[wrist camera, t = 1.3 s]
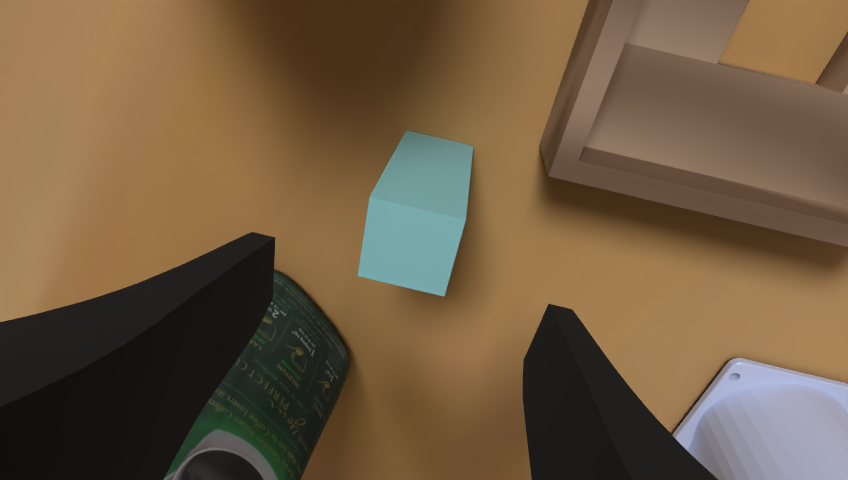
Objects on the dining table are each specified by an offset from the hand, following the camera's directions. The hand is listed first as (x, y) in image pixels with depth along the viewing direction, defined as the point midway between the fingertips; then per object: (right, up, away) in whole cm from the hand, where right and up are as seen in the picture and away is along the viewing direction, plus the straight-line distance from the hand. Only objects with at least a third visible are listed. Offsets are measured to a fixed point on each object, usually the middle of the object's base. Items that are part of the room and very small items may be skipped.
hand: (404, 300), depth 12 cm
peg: (+1, +5, +9) cm, 10 cm away
